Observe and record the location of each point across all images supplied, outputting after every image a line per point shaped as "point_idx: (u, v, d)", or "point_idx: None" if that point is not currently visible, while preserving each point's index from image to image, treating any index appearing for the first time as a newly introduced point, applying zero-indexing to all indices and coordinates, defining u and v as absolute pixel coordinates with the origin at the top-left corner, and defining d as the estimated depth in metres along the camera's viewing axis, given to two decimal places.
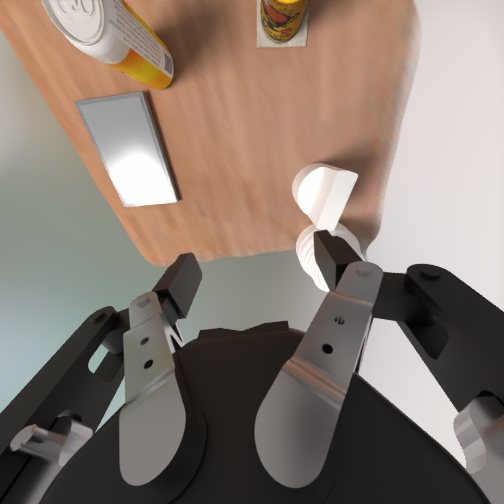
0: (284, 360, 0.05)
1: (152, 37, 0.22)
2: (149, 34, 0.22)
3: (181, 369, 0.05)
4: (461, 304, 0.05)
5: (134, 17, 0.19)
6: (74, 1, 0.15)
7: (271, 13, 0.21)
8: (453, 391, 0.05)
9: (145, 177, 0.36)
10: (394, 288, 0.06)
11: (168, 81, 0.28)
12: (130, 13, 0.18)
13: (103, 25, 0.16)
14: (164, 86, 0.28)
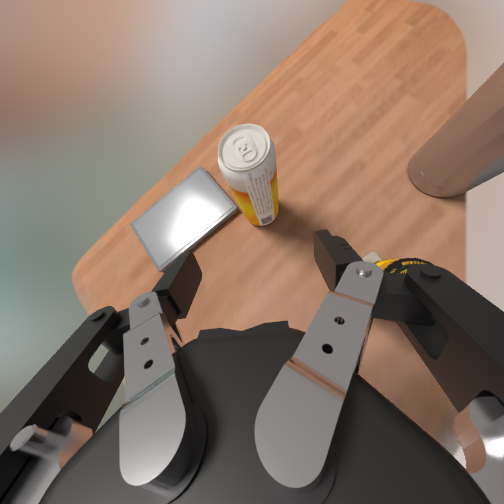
0: (284, 360, 0.05)
1: (272, 204, 0.25)
2: (271, 201, 0.24)
3: (181, 369, 0.05)
4: (461, 304, 0.05)
5: (271, 189, 0.21)
6: (244, 148, 0.17)
7: None
8: (453, 391, 0.05)
9: (169, 232, 0.33)
10: (394, 288, 0.06)
11: (256, 223, 0.30)
12: (270, 186, 0.21)
13: (242, 170, 0.17)
14: (251, 222, 0.30)
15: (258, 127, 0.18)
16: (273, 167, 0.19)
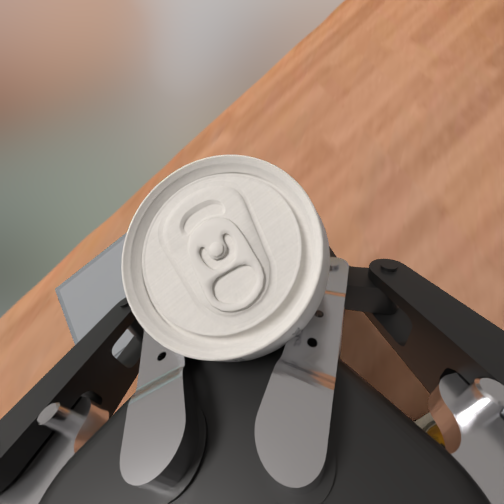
0: None
1: None
2: None
3: (191, 366, 0.05)
4: (417, 292, 0.06)
5: None
6: (216, 253, 0.04)
7: None
8: (422, 373, 0.05)
9: None
10: (358, 281, 0.07)
11: None
12: None
13: (203, 359, 0.04)
14: None
15: (272, 170, 0.05)
16: None
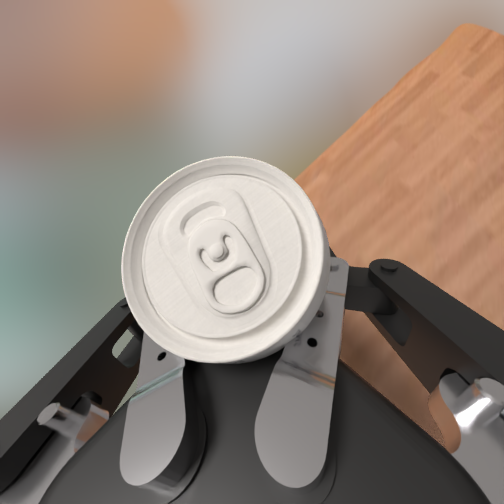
0: None
1: None
2: None
3: (191, 366, 0.05)
4: (417, 292, 0.06)
5: None
6: (217, 255, 0.04)
7: None
8: (422, 373, 0.05)
9: None
10: (358, 281, 0.07)
11: None
12: None
13: (203, 361, 0.04)
14: None
15: (272, 172, 0.05)
16: None
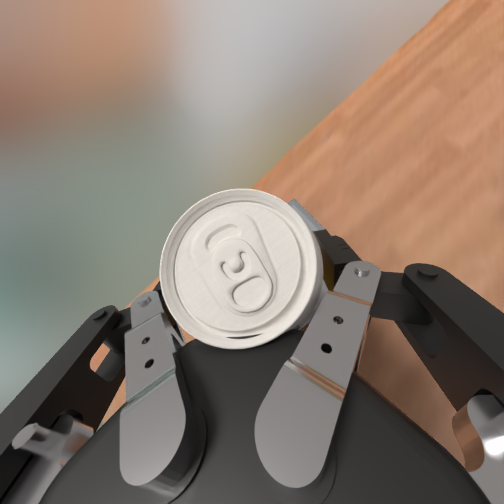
0: (284, 360, 0.05)
1: None
2: None
3: (182, 369, 0.05)
4: (458, 303, 0.05)
5: None
6: (235, 267, 0.06)
7: None
8: (451, 390, 0.05)
9: None
10: (392, 287, 0.07)
11: None
12: None
13: (226, 348, 0.05)
14: None
15: (278, 202, 0.06)
16: None
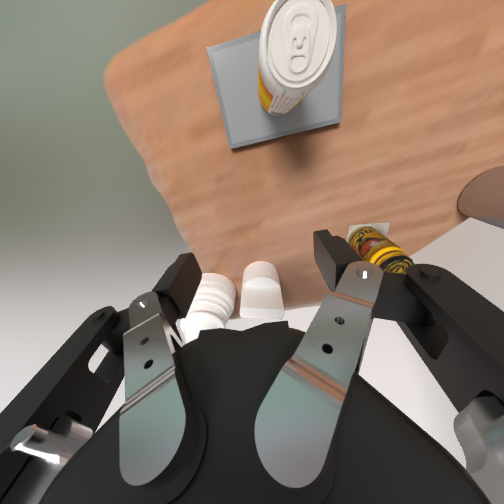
0: (284, 360, 0.05)
1: (290, 107, 0.22)
2: (291, 107, 0.21)
3: (181, 369, 0.05)
4: (461, 304, 0.05)
5: (298, 101, 0.19)
6: (299, 45, 0.13)
7: (366, 246, 0.34)
8: (453, 391, 0.05)
9: (256, 105, 0.27)
10: (394, 288, 0.06)
11: (264, 108, 0.26)
12: (299, 100, 0.18)
13: (280, 82, 0.15)
14: (260, 101, 0.26)
15: (333, 17, 0.13)
16: None
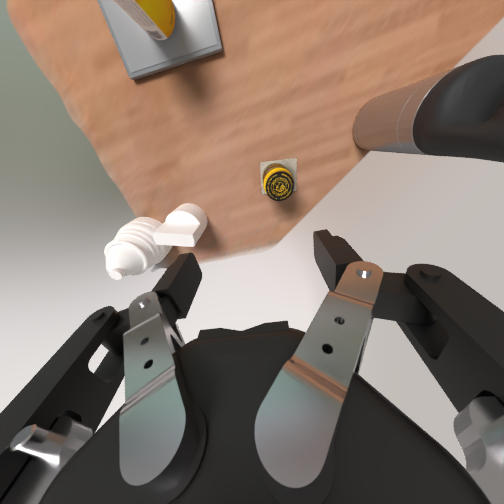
0: (284, 360, 0.05)
1: (149, 19, 0.25)
2: (146, 16, 0.25)
3: (181, 369, 0.05)
4: (461, 304, 0.05)
5: (135, 1, 0.22)
6: None
7: (264, 174, 0.37)
8: (453, 391, 0.05)
9: (142, 31, 0.30)
10: (394, 288, 0.06)
11: (146, 31, 0.29)
12: None
13: None
14: None
15: None
16: None
